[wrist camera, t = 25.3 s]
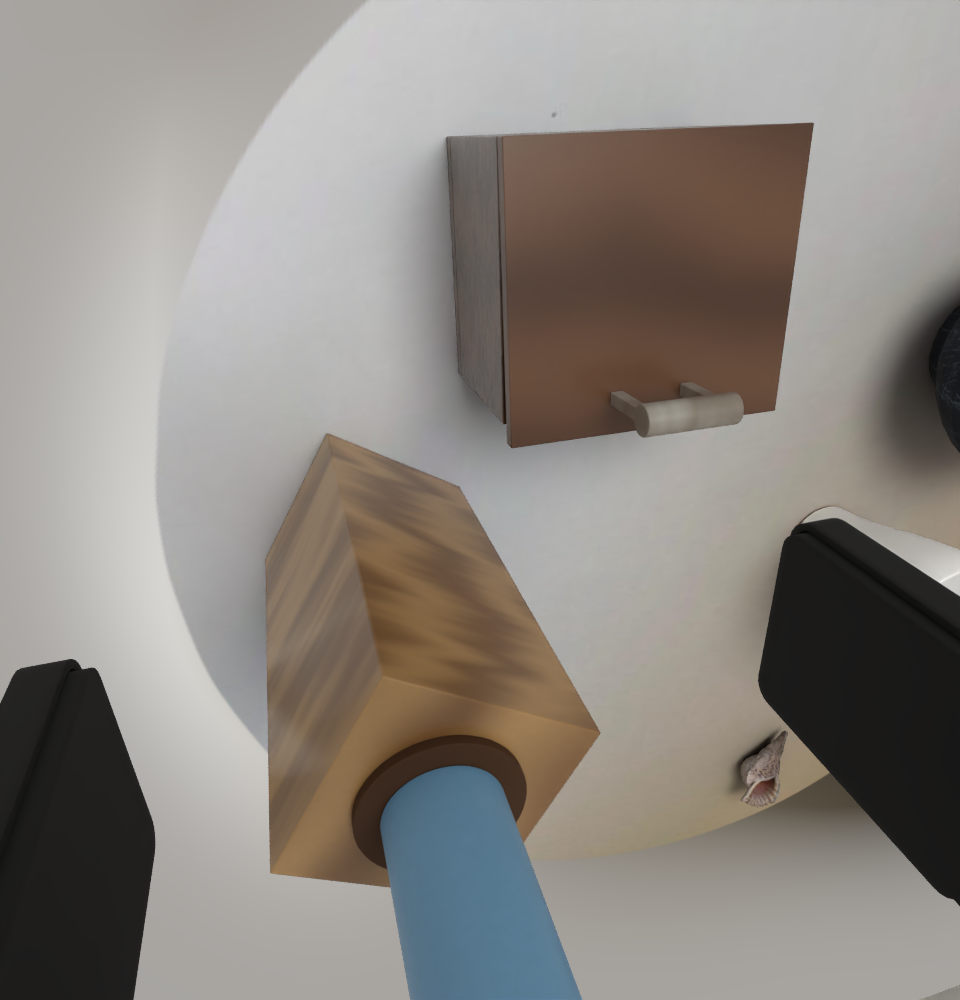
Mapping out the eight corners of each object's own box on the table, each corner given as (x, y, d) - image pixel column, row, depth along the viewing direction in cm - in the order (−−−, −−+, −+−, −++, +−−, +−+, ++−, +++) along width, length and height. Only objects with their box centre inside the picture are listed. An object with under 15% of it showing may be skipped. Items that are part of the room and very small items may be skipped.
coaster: (321, 852, 28) (322, 863, 27) (401, 717, 26) (403, 727, 26) (472, 872, 31) (475, 883, 30) (554, 753, 29) (558, 762, 29)
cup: (780, 608, 64) (895, 713, 52) (753, 522, 59) (875, 617, 47) (880, 550, 64) (1018, 641, 53) (863, 459, 59) (1012, 538, 47)
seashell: (734, 770, 75) (715, 772, 72) (791, 729, 72) (774, 729, 69) (760, 811, 72) (741, 815, 70) (821, 770, 69) (804, 771, 66)
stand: (264, 559, 48) (269, 874, 28) (326, 432, 46) (382, 676, 25) (396, 600, 53) (484, 899, 32) (459, 486, 50) (601, 733, 29)
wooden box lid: (766, 406, 41) (831, 436, 36) (506, 443, 38) (541, 482, 33) (803, 123, 35) (887, 115, 30) (497, 136, 31) (538, 130, 27)
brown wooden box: (676, 347, 50) (761, 389, 41) (458, 372, 46) (503, 425, 38) (696, 125, 43) (802, 123, 35) (446, 136, 40) (496, 136, 31)
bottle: (358, 849, 28) (425, 1331, 16) (416, 754, 26) (533, 1209, 15) (467, 864, 30) (592, 1300, 19) (526, 777, 28) (699, 1191, 17)
